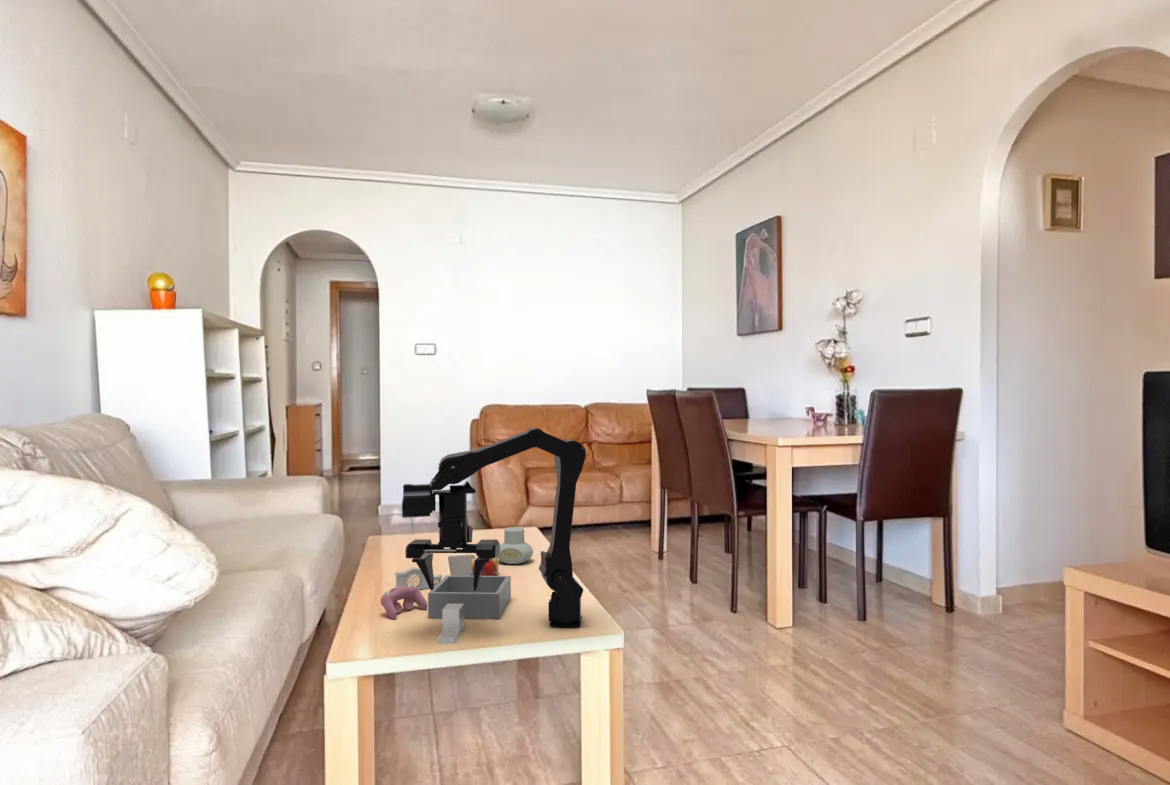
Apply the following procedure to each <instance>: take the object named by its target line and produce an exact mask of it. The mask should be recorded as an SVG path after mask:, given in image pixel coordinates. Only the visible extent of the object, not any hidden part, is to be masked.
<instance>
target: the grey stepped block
mask: <svg viewBox="0 0 1170 785" xmlns="http://www.w3.org/2000/svg"><path fill="white" fill-rule="evenodd" d="M441 619H442V630H441V632H440V633H439V635H438V636H437V637H436V639H437V640H436V643H437V644H447V645H448V644H454V645H455V644H456V642H457V641H458V640H459V637H460V636H461V635H462V633H463V632H464V631H465V619H464V604H447V605H446V606H445V607H444V608H443V610H442V618H441Z"/></svg>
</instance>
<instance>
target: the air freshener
mask: <svg viewBox="0 0 1170 785" xmlns="http://www.w3.org/2000/svg"><path fill="white" fill-rule="evenodd" d="M503 534H504V539H503V540H504V542H503V543H500V553H499V554H498V555H497V559H498V561H500V562H502V563H503V564H506V563H507V564H506V565H509V564H517V565H520V563H521V564H524V563H526V562H527V561H529V560H530V559H531V558H532V556H533V553H534V549H533V547H532V546H531V545H530V544H529V543H528V542H525V529H524V528H523V527H520V526H511V527H506V528H505V529H504V533H503Z"/></svg>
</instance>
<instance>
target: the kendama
mask: <svg viewBox="0 0 1170 785" xmlns="http://www.w3.org/2000/svg"><path fill="white" fill-rule="evenodd" d="M476 558H477V557H476ZM476 558H475V557H474V558H471V571H472V576H474V564H475V559H476ZM499 569H500V568H499V559H498V558H497V556H496V558H492V559H491V560H490V562H487V563H486V564H485V566H484V569H483V571H482V575H481V576H495V573H499Z"/></svg>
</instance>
